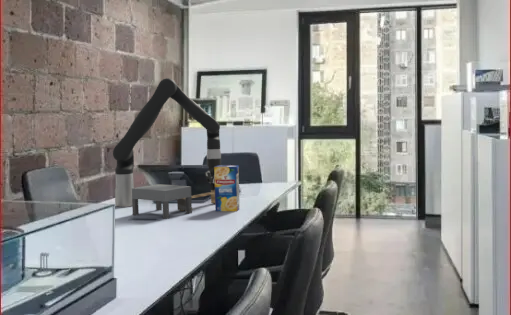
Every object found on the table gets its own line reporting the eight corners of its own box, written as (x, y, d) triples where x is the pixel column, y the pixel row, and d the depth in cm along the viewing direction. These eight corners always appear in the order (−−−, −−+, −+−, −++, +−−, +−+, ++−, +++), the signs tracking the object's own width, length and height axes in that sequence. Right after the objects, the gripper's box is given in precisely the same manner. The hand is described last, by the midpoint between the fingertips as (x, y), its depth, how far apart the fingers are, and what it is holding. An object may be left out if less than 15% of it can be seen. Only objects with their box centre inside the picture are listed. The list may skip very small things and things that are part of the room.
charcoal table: (132, 215, 279) (131, 188, 278) (158, 209, 294) (158, 184, 293) (166, 218, 266) (165, 190, 265) (191, 212, 281) (191, 186, 280)
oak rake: (213, 202, 312) (212, 176, 311) (220, 202, 309) (219, 176, 308) (177, 209, 289) (176, 181, 288) (185, 210, 286) (184, 182, 285)
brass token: (179, 211, 290) (179, 208, 290) (185, 210, 294) (185, 206, 293) (186, 212, 287) (186, 208, 287) (192, 210, 291) (192, 207, 291)
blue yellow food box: (237, 211, 283) (236, 166, 282) (215, 211, 285) (214, 166, 283) (239, 208, 290) (238, 165, 288) (218, 208, 292) (217, 165, 290)
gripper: (216, 156, 316) (217, 187, 317) (200, 158, 304) (200, 190, 305) (227, 156, 312) (228, 188, 313) (211, 158, 300) (212, 191, 301)
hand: (214, 189), depth 309 cm, fingers closed on oak rake, 3 cm apart
